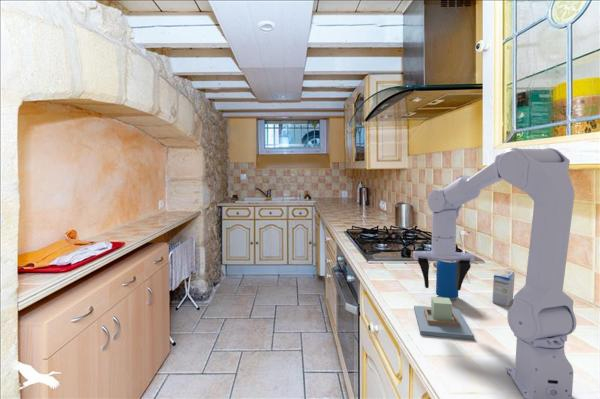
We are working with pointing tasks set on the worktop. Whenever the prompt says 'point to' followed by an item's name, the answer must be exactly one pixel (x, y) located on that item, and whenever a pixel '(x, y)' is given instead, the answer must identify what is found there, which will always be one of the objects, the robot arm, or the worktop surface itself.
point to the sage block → (441, 309)
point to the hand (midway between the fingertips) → (442, 287)
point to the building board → (442, 324)
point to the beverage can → (446, 279)
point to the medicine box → (503, 287)
